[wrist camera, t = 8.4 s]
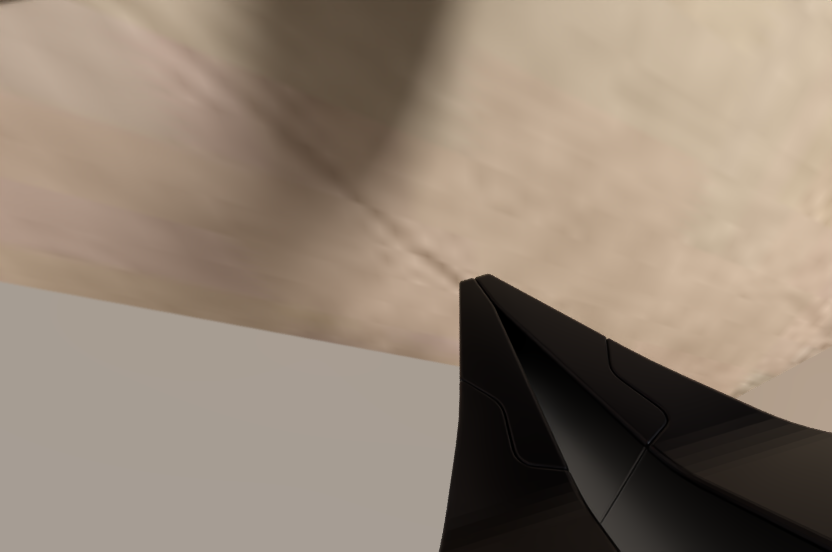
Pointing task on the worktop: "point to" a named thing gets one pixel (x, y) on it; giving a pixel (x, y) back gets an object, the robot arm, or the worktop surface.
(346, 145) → the worktop surface
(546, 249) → the worktop surface
